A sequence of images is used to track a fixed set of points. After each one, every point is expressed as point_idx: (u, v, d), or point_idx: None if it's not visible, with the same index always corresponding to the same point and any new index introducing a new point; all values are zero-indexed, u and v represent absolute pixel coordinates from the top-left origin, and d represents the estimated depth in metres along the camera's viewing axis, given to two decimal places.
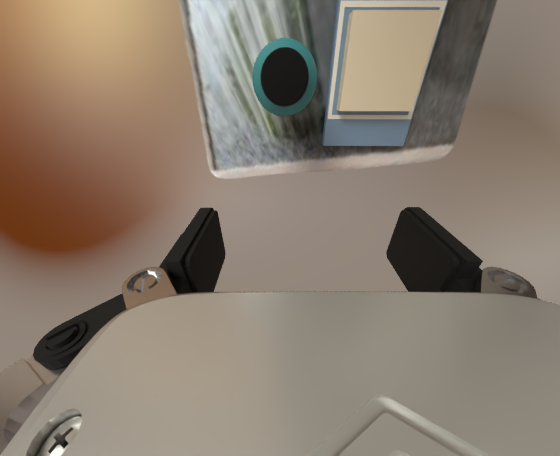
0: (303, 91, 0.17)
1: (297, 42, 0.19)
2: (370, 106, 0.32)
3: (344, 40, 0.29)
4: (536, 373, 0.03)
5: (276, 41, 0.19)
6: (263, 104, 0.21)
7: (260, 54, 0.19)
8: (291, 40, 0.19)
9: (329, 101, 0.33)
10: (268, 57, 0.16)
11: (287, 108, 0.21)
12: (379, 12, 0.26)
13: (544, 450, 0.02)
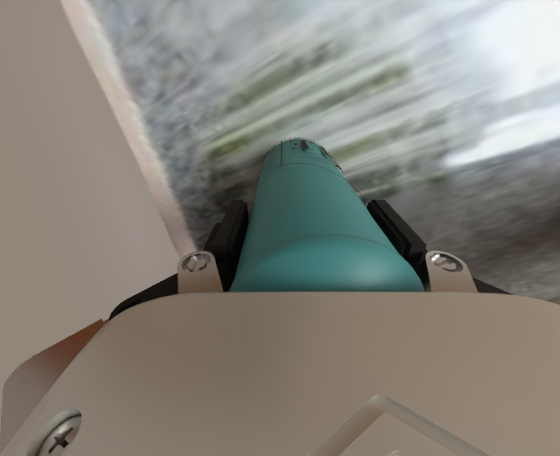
0: None
1: None
2: None
3: None
4: (536, 373, 0.03)
5: None
6: (253, 278, 0.05)
7: (408, 275, 0.05)
8: None
9: None
10: None
11: None
12: None
13: (544, 450, 0.02)
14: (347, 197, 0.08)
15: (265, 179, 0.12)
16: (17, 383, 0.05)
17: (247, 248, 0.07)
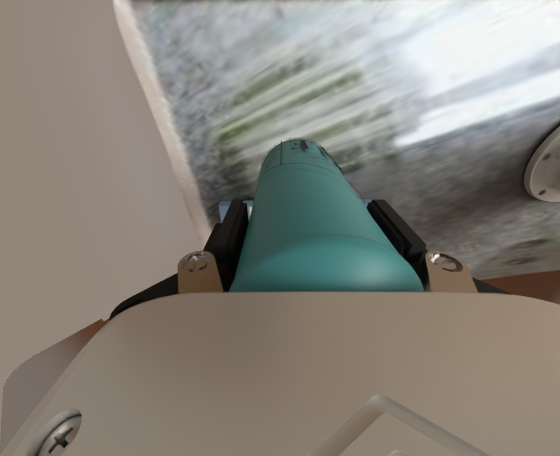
0: None
1: None
2: None
3: None
4: (536, 373, 0.03)
5: None
6: (253, 278, 0.05)
7: (407, 275, 0.05)
8: None
9: None
10: None
11: None
12: None
13: (544, 450, 0.02)
14: (347, 197, 0.08)
15: (265, 179, 0.12)
16: (17, 383, 0.05)
17: (247, 248, 0.07)
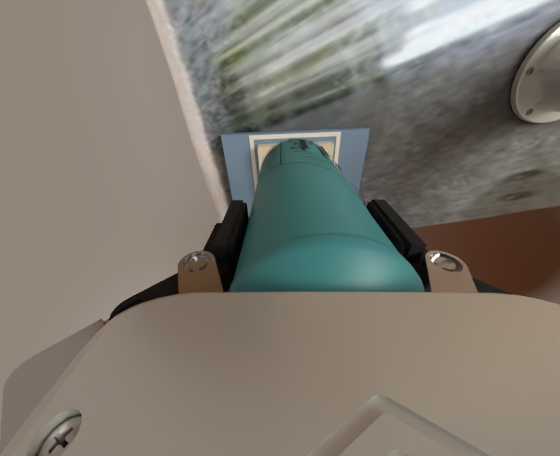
0: None
1: None
2: None
3: (314, 140, 0.32)
4: (536, 373, 0.03)
5: None
6: (253, 278, 0.05)
7: (408, 274, 0.05)
8: None
9: (265, 134, 0.31)
10: None
11: None
12: None
13: (544, 450, 0.02)
14: (347, 196, 0.08)
15: (264, 178, 0.12)
16: (17, 383, 0.05)
17: (247, 247, 0.07)
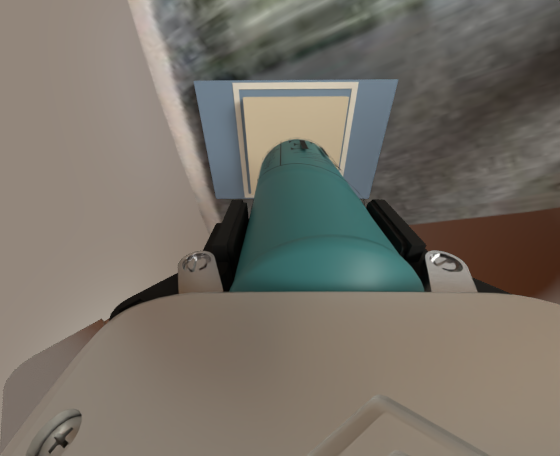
0: None
1: None
2: (252, 144, 0.24)
3: (321, 94, 0.23)
4: (536, 373, 0.03)
5: None
6: (253, 279, 0.05)
7: (408, 276, 0.05)
8: None
9: (255, 82, 0.23)
10: None
11: None
12: (342, 131, 0.23)
13: (544, 450, 0.02)
14: (347, 197, 0.08)
15: (264, 179, 0.12)
16: (17, 383, 0.05)
17: (247, 249, 0.07)
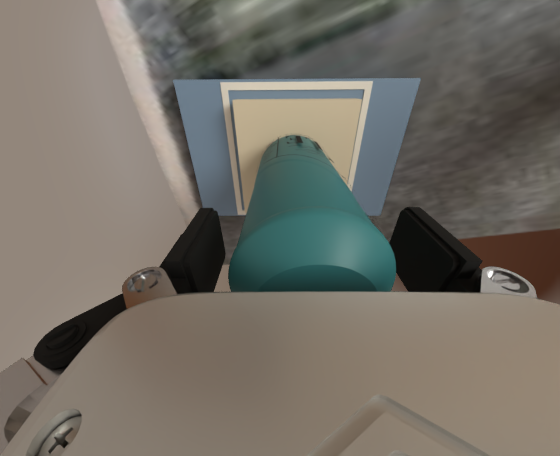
0: None
1: None
2: (244, 155, 0.20)
3: (327, 96, 0.19)
4: (536, 373, 0.03)
5: (394, 274, 0.07)
6: (251, 243, 0.07)
7: (377, 239, 0.07)
8: None
9: (248, 81, 0.19)
10: None
11: None
12: (352, 140, 0.20)
13: (544, 450, 0.02)
14: (333, 181, 0.09)
15: (263, 170, 0.13)
16: None
17: (246, 224, 0.08)
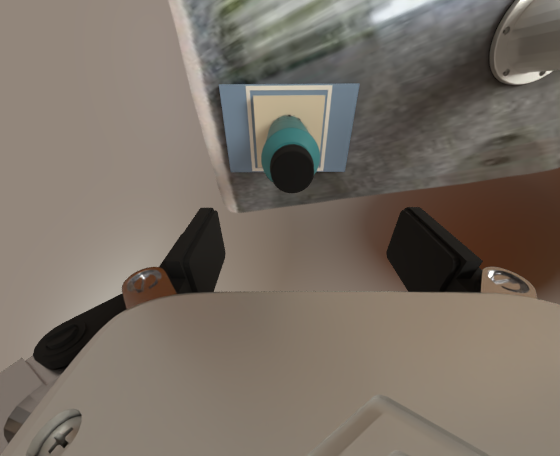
0: (282, 190, 0.19)
1: (316, 170, 0.23)
2: (259, 128, 0.35)
3: (307, 94, 0.34)
4: (536, 373, 0.03)
5: (318, 152, 0.21)
6: (270, 139, 0.21)
7: (310, 137, 0.21)
8: (317, 165, 0.22)
9: (261, 85, 0.33)
10: (307, 158, 0.18)
11: (268, 165, 0.22)
12: (321, 119, 0.34)
13: (544, 450, 0.02)
14: (300, 126, 0.23)
15: (271, 128, 0.27)
16: None
17: None
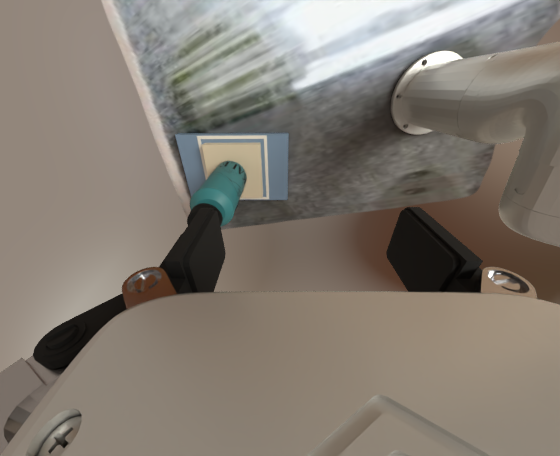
0: None
1: (232, 215, 0.30)
2: (209, 168, 0.42)
3: (247, 141, 0.41)
4: (536, 373, 0.03)
5: (230, 204, 0.29)
6: (193, 195, 0.29)
7: (222, 194, 0.29)
8: (232, 212, 0.30)
9: (209, 135, 0.41)
10: None
11: None
12: (259, 162, 0.42)
13: (544, 450, 0.02)
14: (222, 181, 0.31)
15: None
16: None
17: None
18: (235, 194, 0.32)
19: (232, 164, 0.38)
